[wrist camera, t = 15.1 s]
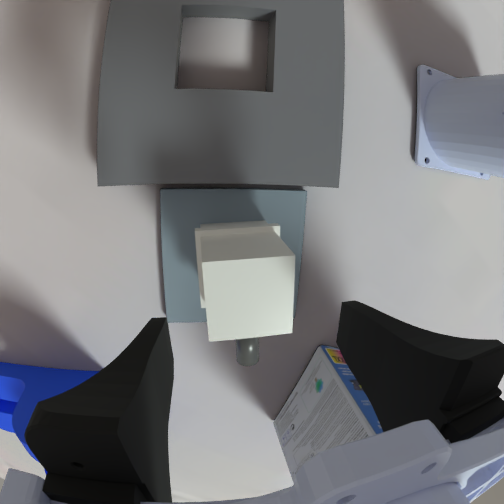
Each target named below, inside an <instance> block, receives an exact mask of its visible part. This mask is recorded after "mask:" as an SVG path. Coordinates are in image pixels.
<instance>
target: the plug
mask: <svg viewBox="0 0 504 504" xmlns="http://www.w3.org/2000/svg"><path fill="white" fill-rule="evenodd" d="M195 242H196V255H197V267H198V279H199V290H200V300H201V308H206V316H207V326H208V336H209V342H212V341H224V340H235V339H236V351H237V362H238V363H239V364H241V365H243V366H252V365H255V364H256V363H257V362H258V360H259V341H258V337H263V336H272V335H280V334H288V333H292V325H293V305H294V280H295V254H294V253H293V252H292V251H291V250H290V249H289V247H288V246H287V245H286V244H285V243H284V242H283V240H282V239H281V238H280V225H279V224H278V223H272V224H268V223H267V222H266V221H265V220H263V221H246V222H229V223H213V224H200V228H195Z"/></svg>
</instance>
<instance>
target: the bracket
mask: <svg viewBox="0 0 504 504" xmlns="http://www.w3.org/2000/svg"><path fill="white" fill-rule="evenodd" d="M98 372H100V371H83V370H68V369H56V368H45V367H36V366H27V365H19V364H11V363H4V362H0V428H1V429H3V430H6V431H9V432H13V433H15V434H16V435H17V437H18V438H19V440H20V441H21V443H22V444H23V446H24V447H25V449H26V450H27V451H28V453H29V454H30V455H31V456H32V457H33V458H34V459H35V460H36V461H38V459H37V458H36V457H35V455H34V454H33V453H32V451H31V450H30V448H29V447H28V445H27V443H26V441H25V437H24V434H25V430H26V428H27V425H28V423H29V420H30V418H31V416H32V413H33V411H34V409H35V407H36V405H37V403H38V402H39V401H42V400H45V399H48V398H51V397H53V396H56V395H59V394H61V393H63V392H65V391H67V390H70V389H72V388H74V387H75V386H77V385H79V384H81V383H83V382H84V381H86V380H87V379H89V378H90V377H92V376H94V375H95V374H97V373H98ZM38 462H39V461H38ZM44 469H45V468H44ZM45 473H46V475H47V471H46V470H45Z"/></svg>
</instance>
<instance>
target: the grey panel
mask: <svg viewBox="0 0 504 504" xmlns="http://www.w3.org/2000/svg"><path fill="white" fill-rule="evenodd" d="M183 17H218V18H237V19H250V20H260V21H269V32H268V56H267V80H266V92H263V91H249V90H230V89H177V82H178V67H179V54H180V42H181V32H182V22H183ZM344 71H345V34H344V0H111V3H110V8H109V14H108V20H107V26H106V32H105V39H104V47H103V55H102V64H101V75H100V87H99V102H98V125H97V179H98V186H116V185H142V184H202V183H209V184H269V185H296V186H316V187H333V188H339V176H340V163H341V148H342V131H343V109H344Z"/></svg>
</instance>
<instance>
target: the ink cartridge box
mask: <svg viewBox="0 0 504 504" xmlns="http://www.w3.org/2000/svg"><path fill="white" fill-rule="evenodd" d="M274 427H275V429H276V433H277V435H278V438H279V441H280V444H281V447H282V450H283V453H284V456H285V459H286V462H287V465H288V468H289V471H290V474H291V477H292V480H293V482H294V481H295V476H296V474H297V473H298V471H299V470H300V468H301V467H302V465H303V464H304V463H305V462H306V461H307V460H309V459H310V458H312V457H313V456H315V455H316V454H318V453H319V452H321V451H324V450H327V449H330V448H332V447H335V446H337V445H341V444H345V443H349V442H352V441H356V440H359V439H363V438H366V437H370V436H373V435H376V434H379V433H383V430H382V428H381V425H380V423H379V420H378V418H377V416H376V414H375V411H374V409H373V407H372V405H371V403H370V401H369V399H368V397H367V396H366V394H365V392H364V391H363V389H362V388H361V386H360V384H359V383H358V381H357V380H356V378H355V377H354V375H353V374H352V372H351V370H350V369H349V367H348V366H347V364H346V362H345V361H344V359H343V356H342V354H341V352H340V350H339V348H334V347H329V346H324V345H321V346H319V347H318V348H317V350H316V352H315V354H314V356H313V357H312V359H311V361H310V363H309V364H308V366H307V368H306V370H305V371H304V373H303V375H302V377H301V378H300V380H299V382H298V383H297V385H296V387H295V388H294V390H293V392H292V393H291V395H290V397H289V398H288V400H287V402H286V403H285V405H284V406H283V408H282V410H281V411H280V413H279V415H278V416H277V418H276V419H275V421H274Z"/></svg>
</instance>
